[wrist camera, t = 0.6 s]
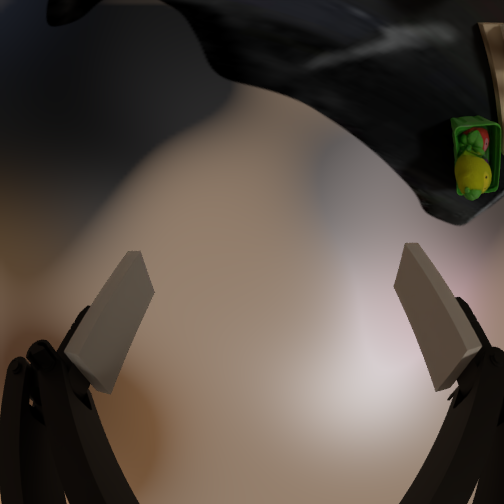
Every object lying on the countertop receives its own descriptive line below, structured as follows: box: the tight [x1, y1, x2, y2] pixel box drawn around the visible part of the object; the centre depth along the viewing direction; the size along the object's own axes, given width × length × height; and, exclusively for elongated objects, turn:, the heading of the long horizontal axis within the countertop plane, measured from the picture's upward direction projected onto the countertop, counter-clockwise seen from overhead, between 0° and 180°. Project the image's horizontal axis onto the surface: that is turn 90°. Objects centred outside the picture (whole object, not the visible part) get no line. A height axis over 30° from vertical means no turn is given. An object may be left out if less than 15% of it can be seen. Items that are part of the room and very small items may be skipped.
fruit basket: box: [451, 116, 501, 201], centre depth 25 cm, size 11×9×11 cm
